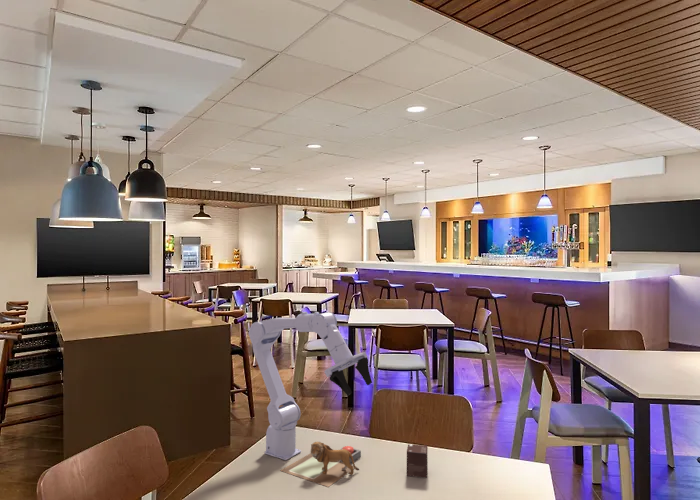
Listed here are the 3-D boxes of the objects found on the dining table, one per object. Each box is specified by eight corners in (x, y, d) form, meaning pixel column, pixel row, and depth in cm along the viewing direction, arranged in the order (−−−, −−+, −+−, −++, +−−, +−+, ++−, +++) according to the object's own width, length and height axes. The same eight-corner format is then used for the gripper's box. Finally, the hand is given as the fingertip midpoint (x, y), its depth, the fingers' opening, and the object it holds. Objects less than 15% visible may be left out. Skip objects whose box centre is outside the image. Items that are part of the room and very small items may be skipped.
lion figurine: (309, 476, 141) (310, 445, 141) (310, 468, 146) (310, 438, 146) (359, 475, 142) (359, 445, 142) (358, 467, 147) (358, 438, 147)
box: (426, 478, 140) (426, 453, 140) (406, 476, 141) (406, 451, 141) (427, 469, 146) (427, 445, 146) (407, 467, 147) (408, 443, 147)
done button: (340, 453, 153) (340, 449, 153) (346, 449, 156) (346, 445, 156) (349, 456, 151) (349, 451, 151) (355, 452, 154) (355, 447, 154)
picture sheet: (280, 470, 145) (280, 470, 145) (310, 453, 157) (310, 453, 157) (328, 487, 135) (328, 486, 135) (356, 467, 147) (356, 466, 147)
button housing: (334, 458, 153) (334, 452, 153) (345, 452, 158) (345, 446, 158) (350, 463, 150) (350, 457, 150) (360, 456, 155) (360, 450, 155)
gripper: (322, 351, 138) (345, 394, 133) (361, 335, 146) (384, 374, 141) (314, 360, 143) (336, 402, 138) (352, 344, 151) (374, 382, 147)
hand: (360, 389), depth 140 cm, fingers open, 7 cm apart
